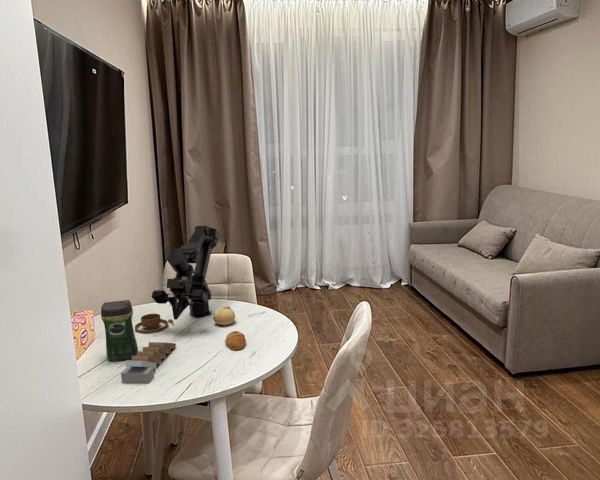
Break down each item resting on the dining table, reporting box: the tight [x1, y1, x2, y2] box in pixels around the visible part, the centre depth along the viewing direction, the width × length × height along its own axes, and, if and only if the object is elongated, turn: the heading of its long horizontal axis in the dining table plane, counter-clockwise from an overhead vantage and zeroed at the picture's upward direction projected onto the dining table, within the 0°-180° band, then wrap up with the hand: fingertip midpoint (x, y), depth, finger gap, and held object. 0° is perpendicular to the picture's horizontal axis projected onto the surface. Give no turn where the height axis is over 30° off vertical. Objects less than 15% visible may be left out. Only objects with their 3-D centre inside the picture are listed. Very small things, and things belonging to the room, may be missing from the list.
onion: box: [212, 304, 236, 327], centre depth 197 cm, size 8×8×7 cm
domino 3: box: [136, 350, 167, 360], centre depth 165 cm, size 2×5×10 cm
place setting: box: [134, 313, 175, 334], centre depth 200 cm, size 18×20×6 cm
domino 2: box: [130, 355, 162, 365], centre depth 161 cm, size 2×5×10 cm
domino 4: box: [142, 346, 172, 354], centre depth 169 cm, size 2×5×10 cm
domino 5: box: [147, 341, 177, 349], centre depth 173 cm, size 2×5×10 cm
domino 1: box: [124, 360, 158, 370], centre depth 157 cm, size 2×5×10 cm
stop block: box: [120, 366, 155, 384], centre depth 155 cm, size 4×8×3 cm, turn 82°
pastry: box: [224, 330, 247, 351], centre depth 177 cm, size 9×7×4 cm
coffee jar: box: [100, 299, 139, 362], centre depth 171 cm, size 10×8×19 cm
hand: (175, 319), depth 184 cm, fingers closed
